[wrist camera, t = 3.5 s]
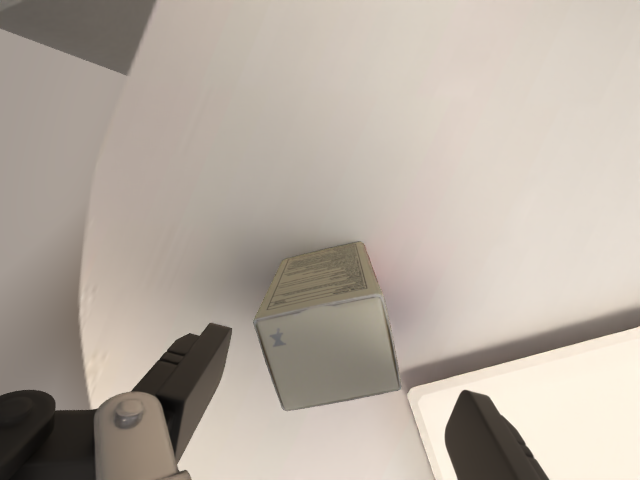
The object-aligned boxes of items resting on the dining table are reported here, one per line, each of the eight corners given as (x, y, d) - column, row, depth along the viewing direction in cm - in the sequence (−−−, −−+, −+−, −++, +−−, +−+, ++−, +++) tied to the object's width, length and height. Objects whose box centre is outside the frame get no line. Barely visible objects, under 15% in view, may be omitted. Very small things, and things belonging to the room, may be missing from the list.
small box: (299, 321, 21) (279, 416, 14) (281, 257, 20) (248, 321, 13) (379, 305, 21) (405, 394, 13) (364, 238, 20) (383, 293, 12)
